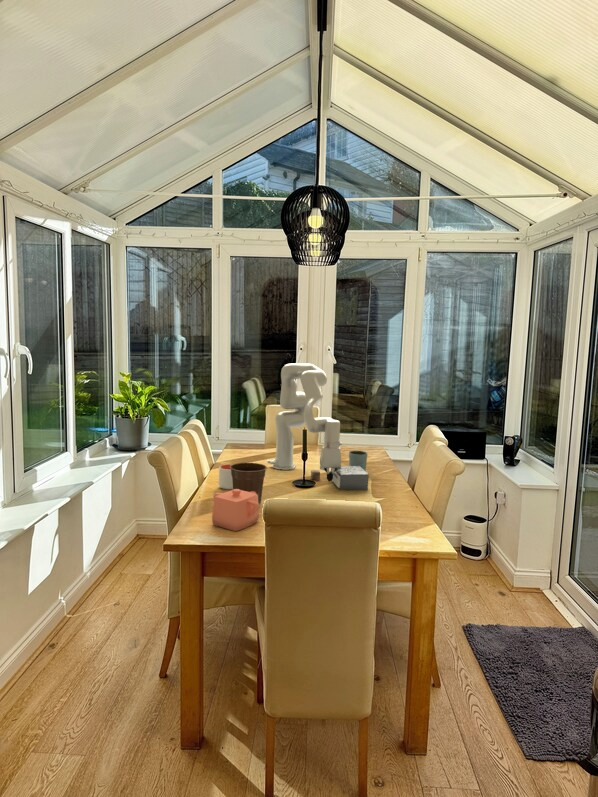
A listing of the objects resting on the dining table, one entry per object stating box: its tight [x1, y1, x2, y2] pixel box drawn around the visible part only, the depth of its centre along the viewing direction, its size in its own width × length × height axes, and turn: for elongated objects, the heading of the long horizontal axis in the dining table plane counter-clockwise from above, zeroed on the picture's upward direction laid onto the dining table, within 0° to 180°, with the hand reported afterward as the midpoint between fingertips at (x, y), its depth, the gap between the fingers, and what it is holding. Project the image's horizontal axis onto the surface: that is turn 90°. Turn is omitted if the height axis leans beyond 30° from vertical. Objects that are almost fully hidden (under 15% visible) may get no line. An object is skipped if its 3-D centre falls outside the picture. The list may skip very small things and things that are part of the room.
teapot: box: [211, 489, 260, 532], centre depth 216 cm, size 20×22×14 cm
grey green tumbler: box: [348, 450, 368, 472], centre depth 296 cm, size 10×10×12 cm
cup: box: [218, 464, 233, 490], centre depth 263 cm, size 10×10×10 cm
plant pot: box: [230, 462, 268, 505], centre depth 241 cm, size 16×16×16 cm
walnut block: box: [310, 469, 321, 481], centre depth 283 cm, size 4×4×4 cm
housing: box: [333, 465, 370, 491], centre depth 273 cm, size 14×16×8 cm
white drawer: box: [332, 471, 340, 489], centre depth 273 cm, size 13×15×6 cm
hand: (329, 480), depth 272 cm, fingers closed
